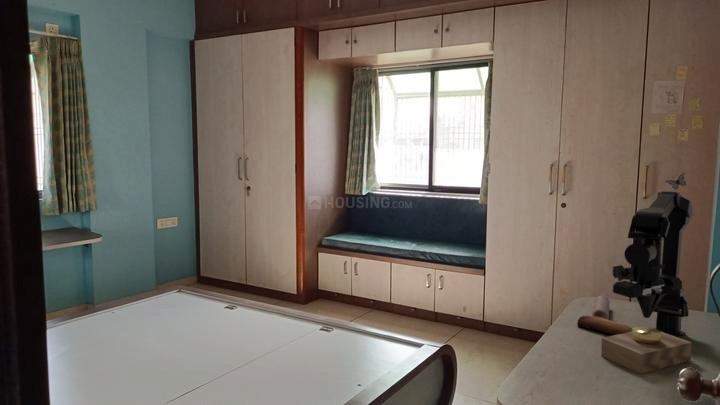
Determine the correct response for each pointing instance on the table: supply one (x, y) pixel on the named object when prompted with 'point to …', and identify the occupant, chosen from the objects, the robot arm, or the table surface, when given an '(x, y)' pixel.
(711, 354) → the table surface
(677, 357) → the socket block
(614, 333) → the sunglasses case
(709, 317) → the table surface
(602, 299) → the pale lilac cylinder
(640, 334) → the gold shiny rounded part
